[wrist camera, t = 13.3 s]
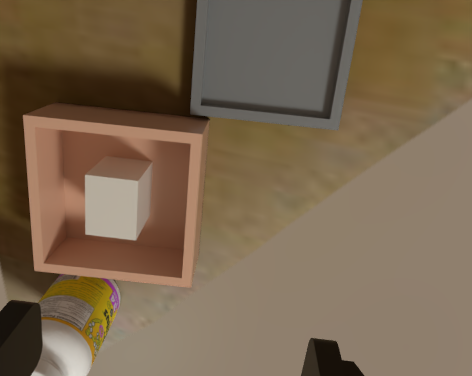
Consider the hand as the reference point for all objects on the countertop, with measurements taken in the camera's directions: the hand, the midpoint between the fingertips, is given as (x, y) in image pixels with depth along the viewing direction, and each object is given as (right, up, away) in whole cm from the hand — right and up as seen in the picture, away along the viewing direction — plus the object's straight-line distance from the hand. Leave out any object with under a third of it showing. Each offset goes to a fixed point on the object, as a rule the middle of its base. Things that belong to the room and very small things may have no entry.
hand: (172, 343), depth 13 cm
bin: (-7, +5, +26) cm, 27 cm away
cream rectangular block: (-7, +5, +25) cm, 27 cm away
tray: (+5, +16, +21) cm, 27 cm away
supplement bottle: (-13, -6, +30) cm, 33 cm away
